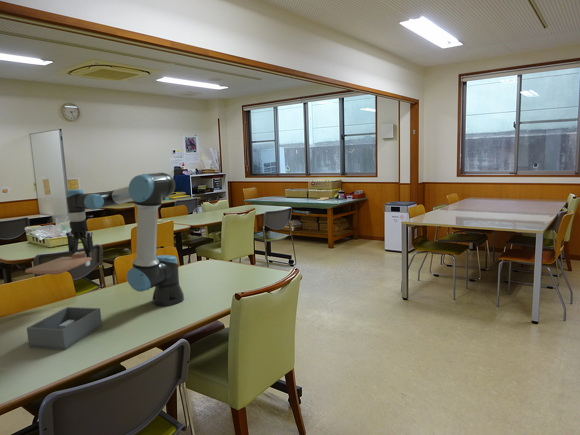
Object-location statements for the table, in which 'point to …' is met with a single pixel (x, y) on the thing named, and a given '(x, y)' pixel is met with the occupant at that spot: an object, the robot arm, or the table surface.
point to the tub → (64, 328)
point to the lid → (60, 264)
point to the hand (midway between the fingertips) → (82, 265)
